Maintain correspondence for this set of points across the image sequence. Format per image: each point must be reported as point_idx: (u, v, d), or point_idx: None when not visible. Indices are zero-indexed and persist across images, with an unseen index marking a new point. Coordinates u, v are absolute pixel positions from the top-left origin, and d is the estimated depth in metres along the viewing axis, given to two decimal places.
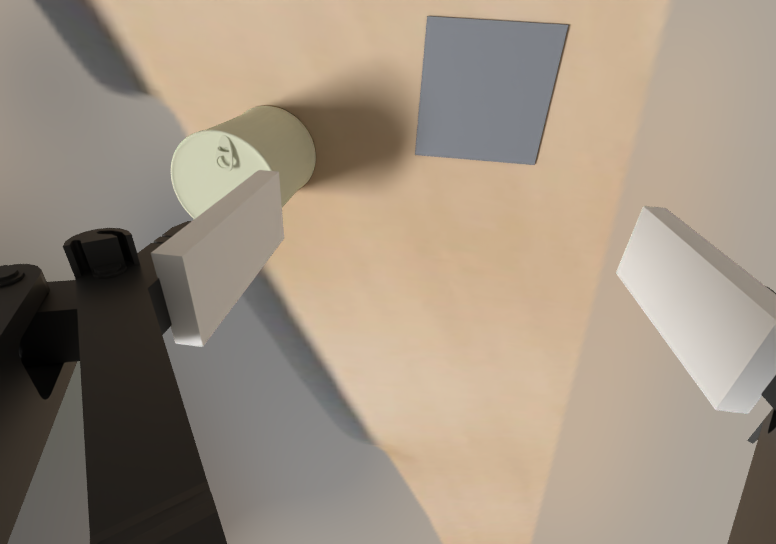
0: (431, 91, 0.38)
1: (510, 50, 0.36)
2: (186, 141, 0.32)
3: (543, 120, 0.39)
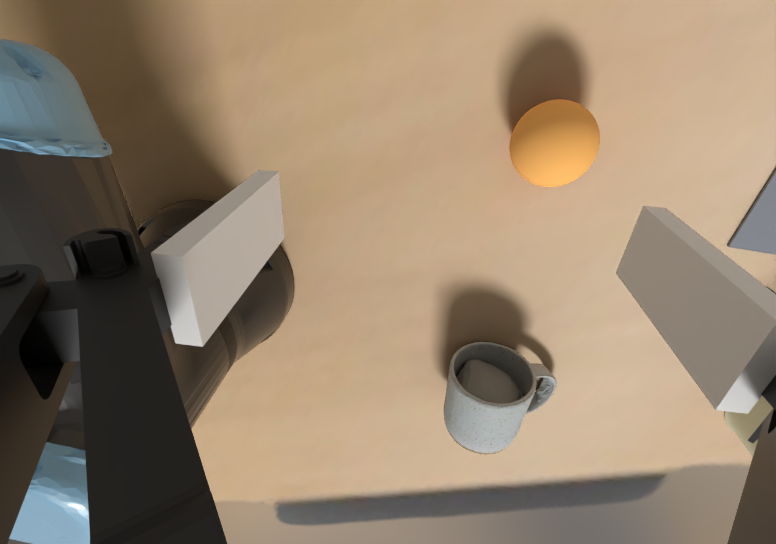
0: None
1: None
2: None
3: None
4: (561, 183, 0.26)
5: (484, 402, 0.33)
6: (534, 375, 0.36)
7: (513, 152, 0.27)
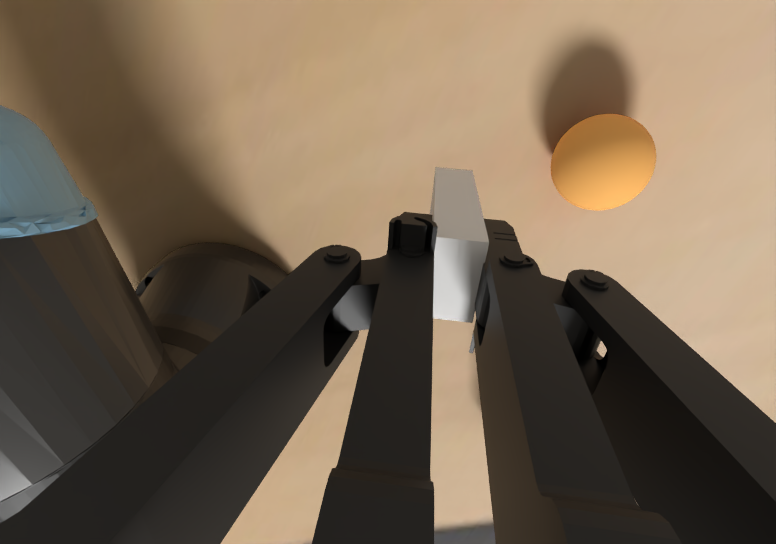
0: None
1: None
2: None
3: None
4: (614, 206, 0.24)
5: None
6: None
7: (557, 175, 0.24)
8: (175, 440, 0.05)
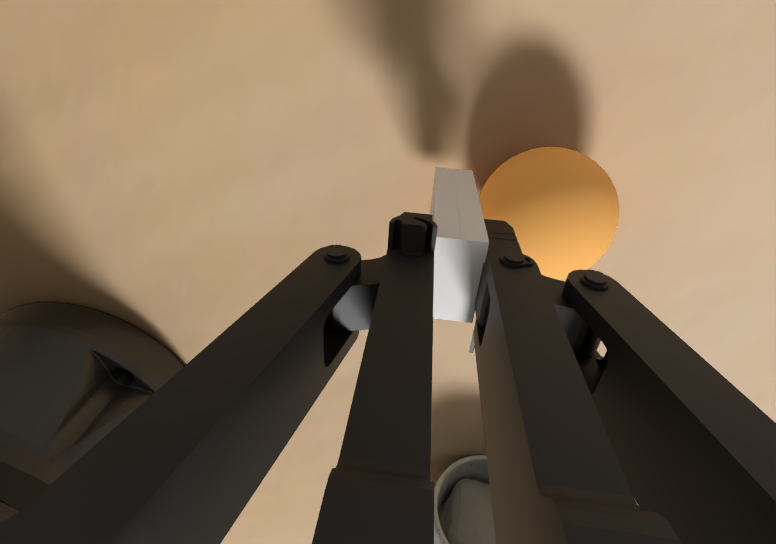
0: None
1: None
2: None
3: None
4: (561, 279, 0.16)
5: None
6: None
7: None
8: (175, 440, 0.05)
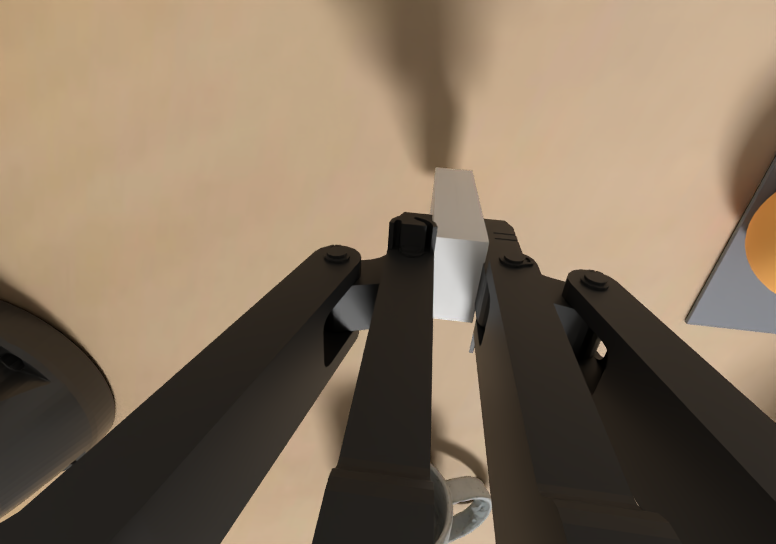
0: None
1: None
2: None
3: None
4: None
5: None
6: (450, 507, 0.25)
7: (775, 260, 0.15)
8: (175, 440, 0.05)
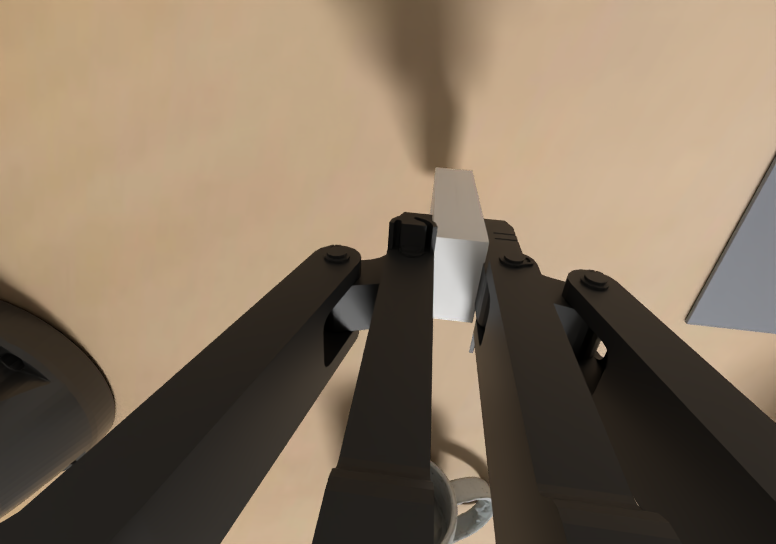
0: None
1: None
2: None
3: None
4: None
5: None
6: (454, 508, 0.25)
7: None
8: (175, 440, 0.05)
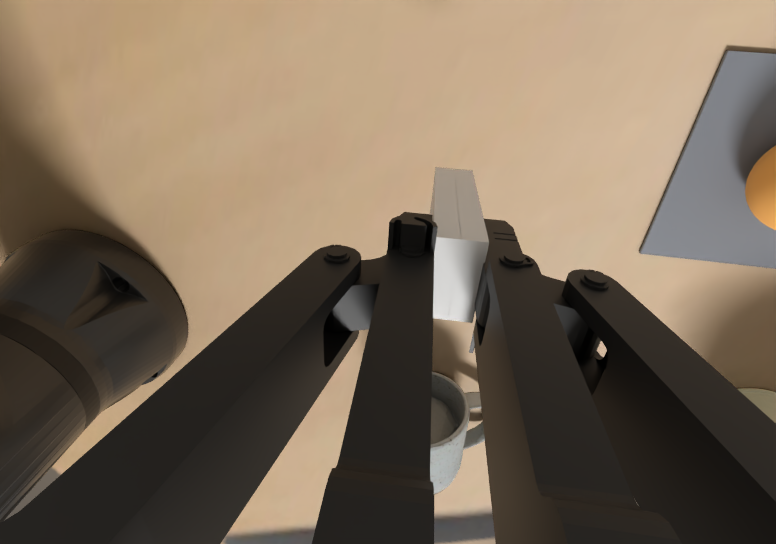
0: (742, 250, 0.26)
1: (728, 140, 0.23)
2: None
3: None
4: None
5: None
6: (467, 408, 0.32)
7: None
8: (176, 440, 0.05)
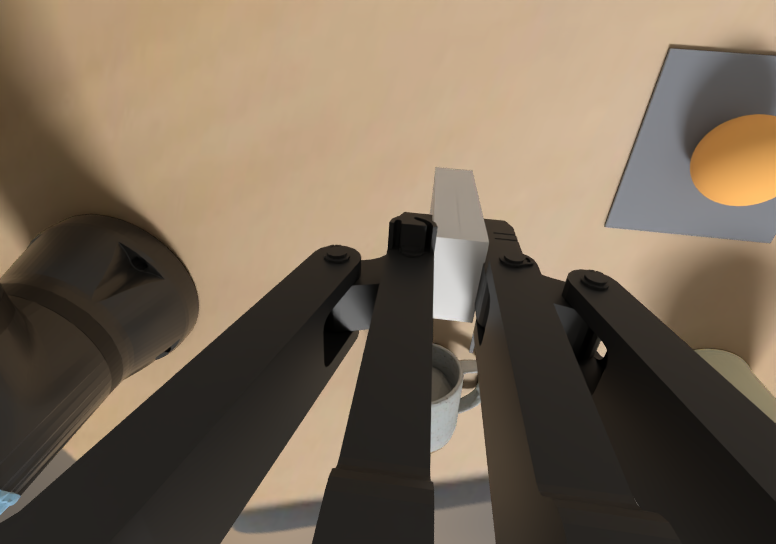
0: (692, 222, 0.30)
1: (675, 125, 0.27)
2: None
3: None
4: None
5: None
6: (461, 371, 0.36)
7: (773, 186, 0.23)
8: (176, 440, 0.05)
